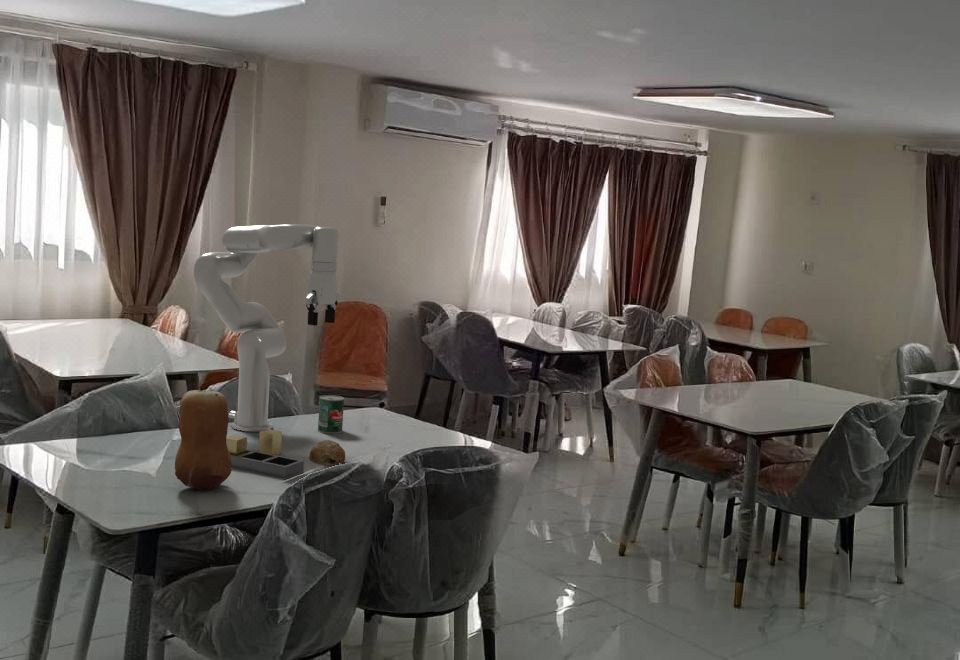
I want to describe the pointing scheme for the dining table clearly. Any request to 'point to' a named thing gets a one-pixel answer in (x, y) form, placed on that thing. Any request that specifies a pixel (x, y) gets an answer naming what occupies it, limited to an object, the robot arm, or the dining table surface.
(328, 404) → the canned tomato
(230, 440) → the khaki cardboard box
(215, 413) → the butternut squash
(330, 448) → the bread roll
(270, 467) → the grey compartment tray
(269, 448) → the tan cubic block
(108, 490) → the dining table surface
